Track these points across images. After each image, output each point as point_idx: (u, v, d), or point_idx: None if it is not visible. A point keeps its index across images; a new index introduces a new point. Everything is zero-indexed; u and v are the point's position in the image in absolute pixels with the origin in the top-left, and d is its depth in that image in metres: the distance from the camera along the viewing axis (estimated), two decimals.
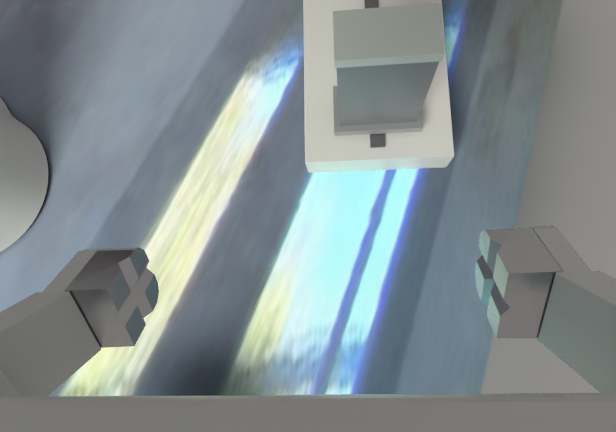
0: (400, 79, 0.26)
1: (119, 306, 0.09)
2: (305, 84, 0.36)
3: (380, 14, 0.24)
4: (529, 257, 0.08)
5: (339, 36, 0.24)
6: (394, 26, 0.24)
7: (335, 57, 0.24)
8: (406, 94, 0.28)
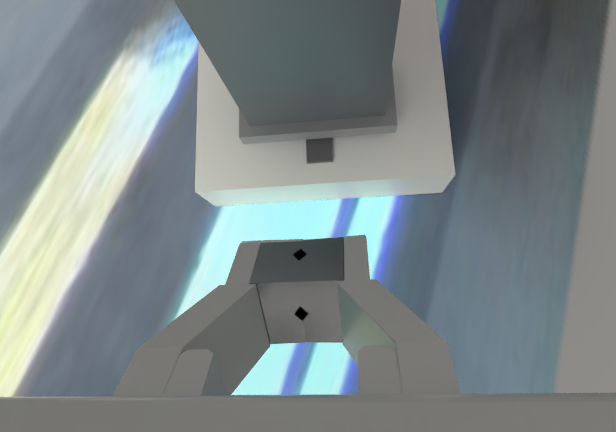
0: (326, 10, 0.12)
1: (300, 300, 0.09)
2: (200, 59, 0.21)
3: None
4: (323, 265, 0.09)
5: None
6: None
7: None
8: (350, 52, 0.14)
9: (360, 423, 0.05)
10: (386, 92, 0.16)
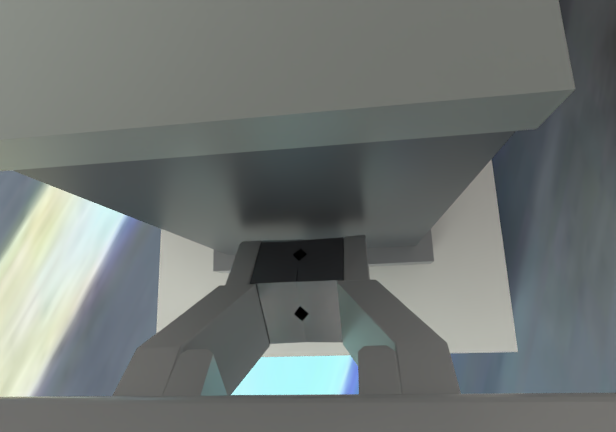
0: (337, 187, 0.06)
1: (300, 300, 0.09)
2: None
3: None
4: (323, 265, 0.09)
5: None
6: None
7: None
8: (375, 214, 0.08)
9: (360, 423, 0.05)
10: (423, 235, 0.11)
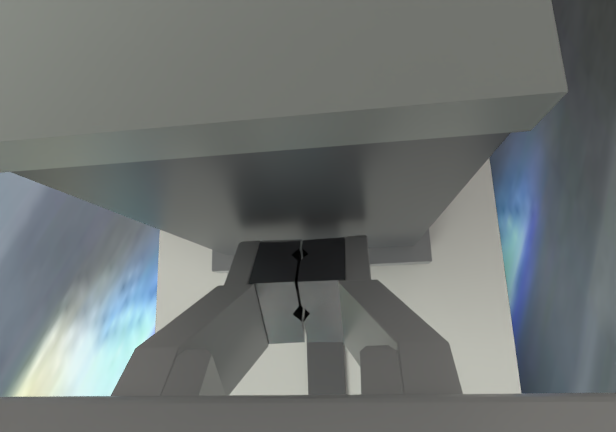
0: (334, 188, 0.06)
1: (298, 300, 0.09)
2: None
3: None
4: (324, 266, 0.09)
5: None
6: None
7: None
8: (372, 215, 0.08)
9: (360, 423, 0.05)
10: (420, 235, 0.11)
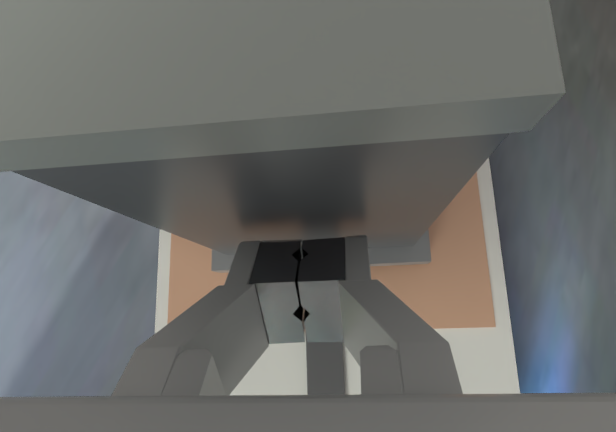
0: (334, 188, 0.06)
1: (299, 300, 0.09)
2: None
3: None
4: (324, 266, 0.09)
5: None
6: None
7: None
8: (371, 215, 0.08)
9: (360, 423, 0.05)
10: (420, 235, 0.11)
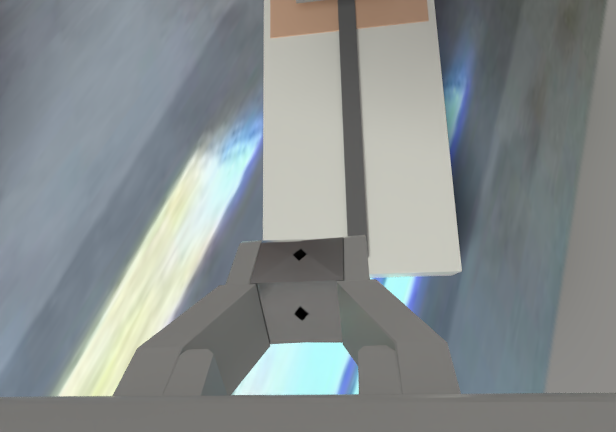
0: None
1: (300, 300, 0.09)
2: (264, 171, 0.28)
3: None
4: (323, 266, 0.09)
5: None
6: None
7: None
8: None
9: (360, 423, 0.05)
10: None
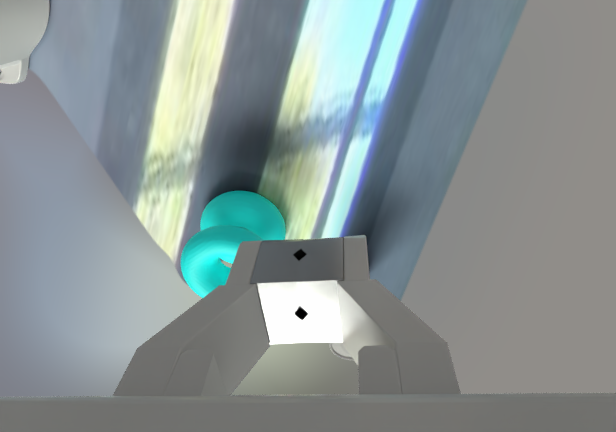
0: None
1: (300, 300, 0.09)
2: None
3: None
4: (323, 266, 0.09)
5: None
6: None
7: None
8: None
9: (360, 423, 0.05)
10: None
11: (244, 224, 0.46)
